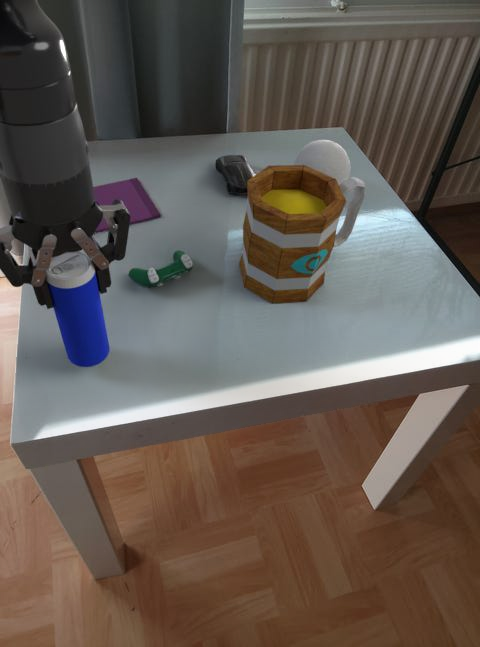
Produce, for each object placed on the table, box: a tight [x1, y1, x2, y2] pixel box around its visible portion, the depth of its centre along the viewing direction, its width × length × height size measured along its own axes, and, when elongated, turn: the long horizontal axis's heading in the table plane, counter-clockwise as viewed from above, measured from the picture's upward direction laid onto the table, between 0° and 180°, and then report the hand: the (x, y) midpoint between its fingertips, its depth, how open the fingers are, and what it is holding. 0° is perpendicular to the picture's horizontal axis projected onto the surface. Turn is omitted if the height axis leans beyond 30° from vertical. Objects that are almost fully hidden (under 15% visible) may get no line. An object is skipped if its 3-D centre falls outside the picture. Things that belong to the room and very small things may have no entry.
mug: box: [238, 164, 366, 304], centre depth 74 cm, size 20×14×15 cm
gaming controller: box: [127, 249, 194, 289], centre depth 75 cm, size 9×4×6 cm
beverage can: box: [45, 251, 111, 369], centre depth 58 cm, size 5×5×15 cm
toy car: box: [214, 154, 257, 195], centre depth 93 cm, size 6×12×4 cm, turn 19°
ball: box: [293, 139, 351, 185], centre depth 90 cm, size 10×10×10 cm
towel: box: [93, 177, 162, 234], centre depth 86 cm, size 14×12×1 cm
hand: (75, 295), depth 56 cm, fingers closed on beverage can, 5 cm apart
